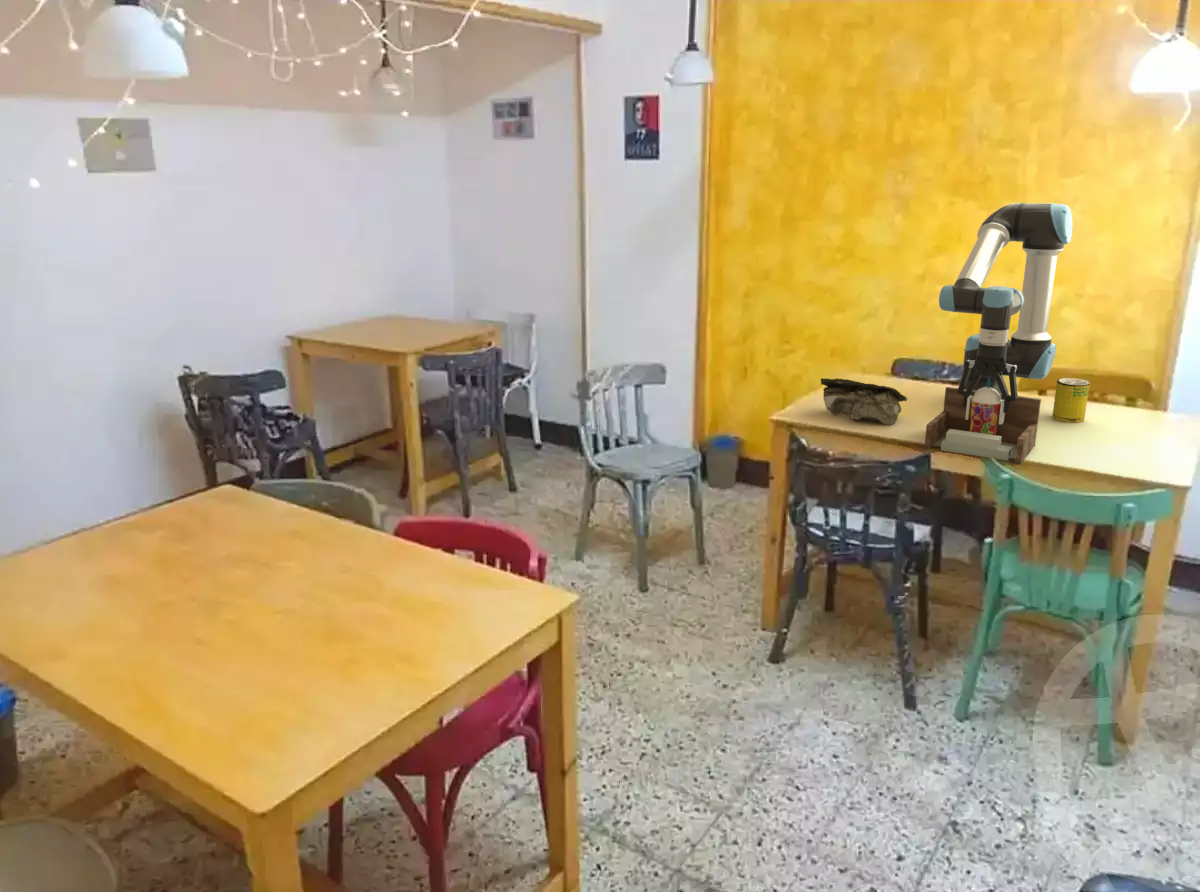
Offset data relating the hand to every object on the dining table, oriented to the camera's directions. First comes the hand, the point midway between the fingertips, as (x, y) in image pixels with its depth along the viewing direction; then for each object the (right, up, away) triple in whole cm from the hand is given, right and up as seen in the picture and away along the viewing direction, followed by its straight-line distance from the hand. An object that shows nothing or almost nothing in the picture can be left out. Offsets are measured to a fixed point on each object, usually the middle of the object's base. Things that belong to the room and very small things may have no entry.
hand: (984, 420), depth 267 cm
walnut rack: (-1, -7, +1) cm, 8 cm away
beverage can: (+36, +1, +24) cm, 44 cm away
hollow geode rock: (-27, +2, +32) cm, 42 cm away
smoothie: (0, -7, +2) cm, 8 cm away
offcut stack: (-4, -9, -4) cm, 11 cm away
